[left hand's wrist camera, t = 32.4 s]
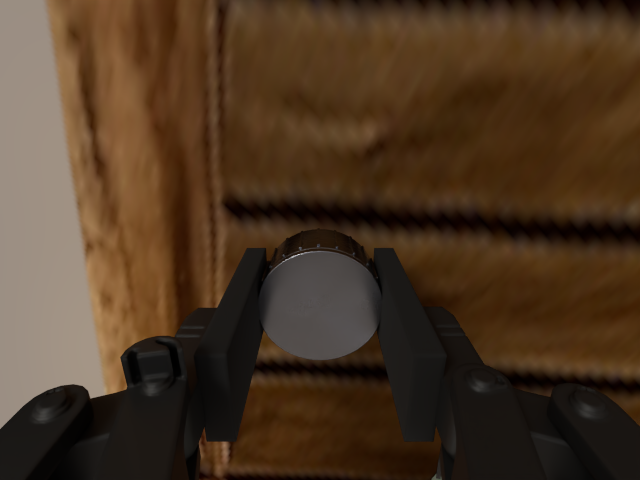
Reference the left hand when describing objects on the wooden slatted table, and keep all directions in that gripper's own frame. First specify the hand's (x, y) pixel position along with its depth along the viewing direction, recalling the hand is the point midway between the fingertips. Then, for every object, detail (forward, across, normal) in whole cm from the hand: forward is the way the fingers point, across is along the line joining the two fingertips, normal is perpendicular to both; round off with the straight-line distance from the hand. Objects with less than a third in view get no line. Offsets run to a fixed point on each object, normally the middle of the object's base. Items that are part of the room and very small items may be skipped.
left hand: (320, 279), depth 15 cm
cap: (-2, 0, 0) cm, 2 cm away
